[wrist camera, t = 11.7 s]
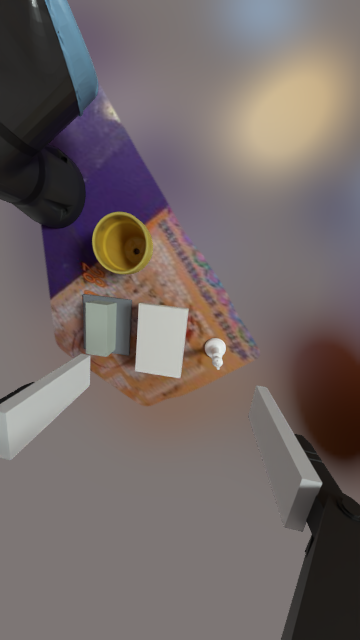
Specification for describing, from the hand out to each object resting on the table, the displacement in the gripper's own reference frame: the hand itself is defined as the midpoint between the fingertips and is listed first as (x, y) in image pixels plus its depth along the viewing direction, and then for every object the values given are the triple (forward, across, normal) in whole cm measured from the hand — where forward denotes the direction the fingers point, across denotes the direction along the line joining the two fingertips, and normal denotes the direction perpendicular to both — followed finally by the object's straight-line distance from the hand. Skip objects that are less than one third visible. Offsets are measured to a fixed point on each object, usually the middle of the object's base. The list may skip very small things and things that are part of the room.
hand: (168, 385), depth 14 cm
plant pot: (+30, -14, +12) cm, 35 cm away
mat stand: (+30, -20, -6) cm, 36 cm away
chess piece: (+30, +7, -7) cm, 31 cm away
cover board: (+25, -5, -6) cm, 26 cm away
